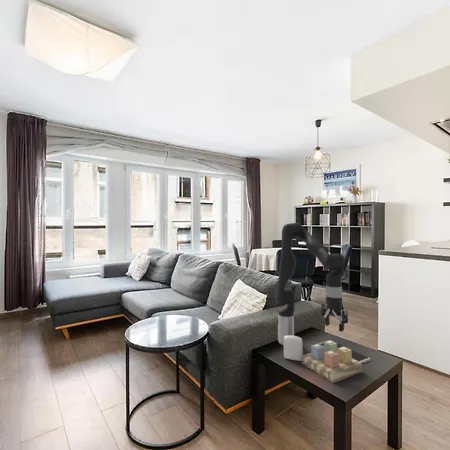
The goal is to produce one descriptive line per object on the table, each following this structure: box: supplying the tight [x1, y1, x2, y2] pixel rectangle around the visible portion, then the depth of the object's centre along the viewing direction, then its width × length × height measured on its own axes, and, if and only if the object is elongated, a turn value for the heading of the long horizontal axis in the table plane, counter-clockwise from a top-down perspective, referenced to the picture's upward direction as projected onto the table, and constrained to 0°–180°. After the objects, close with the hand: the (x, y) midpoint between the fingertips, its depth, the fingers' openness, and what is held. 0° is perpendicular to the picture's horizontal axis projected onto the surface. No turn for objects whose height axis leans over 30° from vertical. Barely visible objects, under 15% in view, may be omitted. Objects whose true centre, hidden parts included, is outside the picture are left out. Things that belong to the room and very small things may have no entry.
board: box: [301, 351, 363, 384], centre depth 145 cm, size 20×20×4 cm
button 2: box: [323, 340, 338, 353], centre depth 151 cm, size 5×5×6 cm
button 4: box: [337, 346, 353, 364], centre depth 143 cm, size 5×5×6 cm
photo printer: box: [283, 335, 304, 362], centre depth 155 cm, size 10×4×12 cm, turn 66°
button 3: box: [324, 351, 339, 369], centre depth 138 cm, size 5×5×6 cm
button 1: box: [310, 343, 324, 361], centre depth 146 cm, size 5×5×6 cm
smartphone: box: [318, 340, 371, 364], centre depth 161 cm, size 13×27×2 cm, turn 28°
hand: (334, 328), depth 139 cm, fingers open, 8 cm apart
